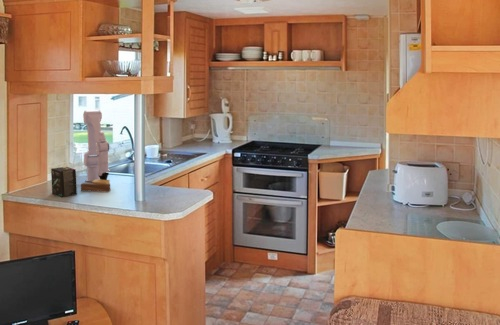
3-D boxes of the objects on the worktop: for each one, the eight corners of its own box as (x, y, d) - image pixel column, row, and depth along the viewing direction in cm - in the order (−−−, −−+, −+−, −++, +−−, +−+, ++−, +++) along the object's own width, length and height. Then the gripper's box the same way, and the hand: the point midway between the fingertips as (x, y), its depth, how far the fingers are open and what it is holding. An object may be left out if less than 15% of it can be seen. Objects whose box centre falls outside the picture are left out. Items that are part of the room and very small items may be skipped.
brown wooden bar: (82, 189, 291) (82, 182, 290) (110, 190, 291) (110, 183, 290) (81, 190, 288) (80, 184, 287) (108, 191, 288) (108, 184, 287)
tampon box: (77, 194, 279) (76, 169, 276) (61, 197, 272) (60, 171, 270) (67, 191, 286) (66, 166, 284) (51, 194, 279) (50, 168, 277)
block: (96, 187, 297) (96, 179, 296) (109, 188, 297) (109, 179, 296) (92, 189, 291) (92, 181, 290) (106, 190, 291) (106, 181, 290)
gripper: (106, 165, 288) (106, 188, 291) (113, 160, 302) (113, 182, 305) (93, 164, 288) (94, 187, 291) (101, 160, 302) (102, 182, 305)
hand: (103, 185), depth 298 cm, fingers closed
